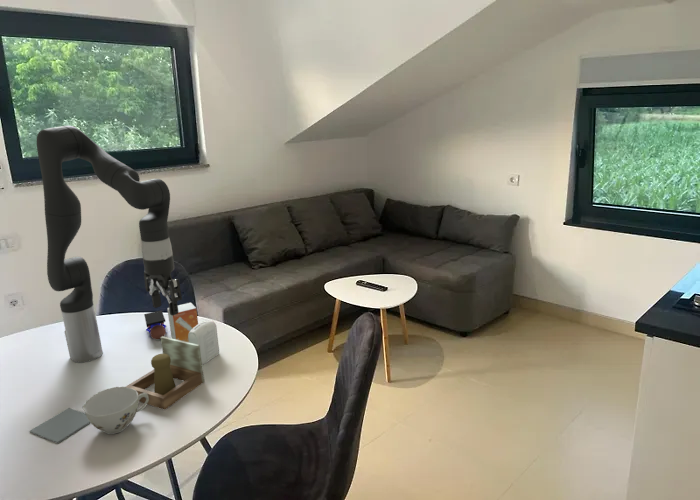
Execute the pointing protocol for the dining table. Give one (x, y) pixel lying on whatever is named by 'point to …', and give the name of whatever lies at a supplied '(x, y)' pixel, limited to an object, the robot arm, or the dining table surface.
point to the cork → (162, 374)
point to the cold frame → (174, 373)
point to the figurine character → (155, 324)
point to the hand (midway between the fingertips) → (165, 310)
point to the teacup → (113, 408)
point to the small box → (183, 321)
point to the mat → (61, 425)
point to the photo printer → (205, 339)
